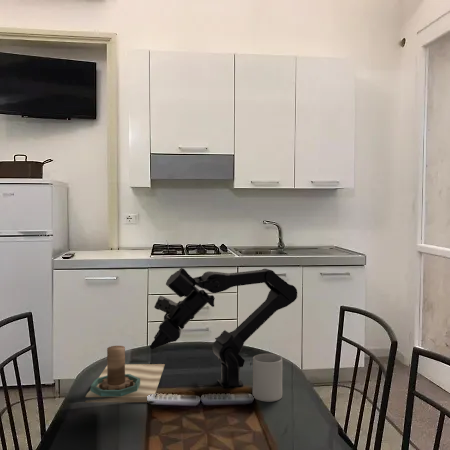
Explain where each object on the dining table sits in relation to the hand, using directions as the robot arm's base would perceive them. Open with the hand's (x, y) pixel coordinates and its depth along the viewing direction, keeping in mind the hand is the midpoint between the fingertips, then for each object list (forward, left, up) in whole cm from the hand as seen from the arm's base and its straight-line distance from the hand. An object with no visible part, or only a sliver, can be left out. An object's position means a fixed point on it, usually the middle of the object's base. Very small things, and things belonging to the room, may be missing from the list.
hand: (152, 343), depth 138 cm
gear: (0, +11, -12) cm, 16 cm away
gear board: (+6, +7, -14) cm, 16 cm away
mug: (-12, -31, -14) cm, 36 cm away
